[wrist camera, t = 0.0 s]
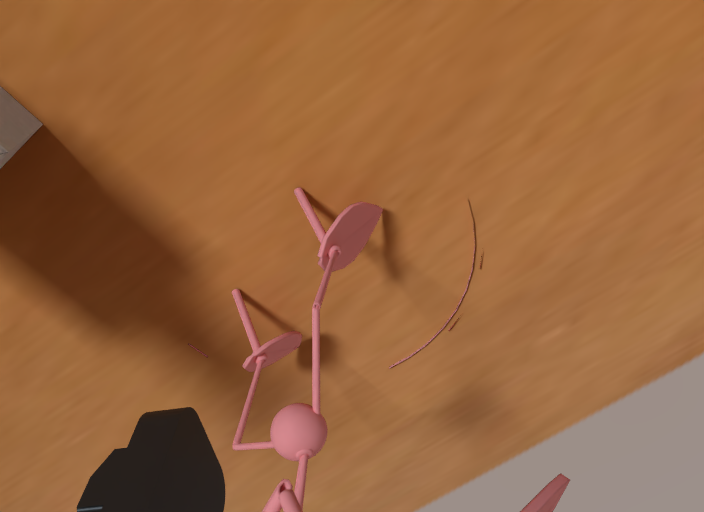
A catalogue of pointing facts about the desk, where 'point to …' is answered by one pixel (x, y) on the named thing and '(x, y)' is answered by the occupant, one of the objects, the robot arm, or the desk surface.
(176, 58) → the desk surface
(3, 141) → the miniature monument
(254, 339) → the figurine
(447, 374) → the desk surface
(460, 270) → the desk surface
